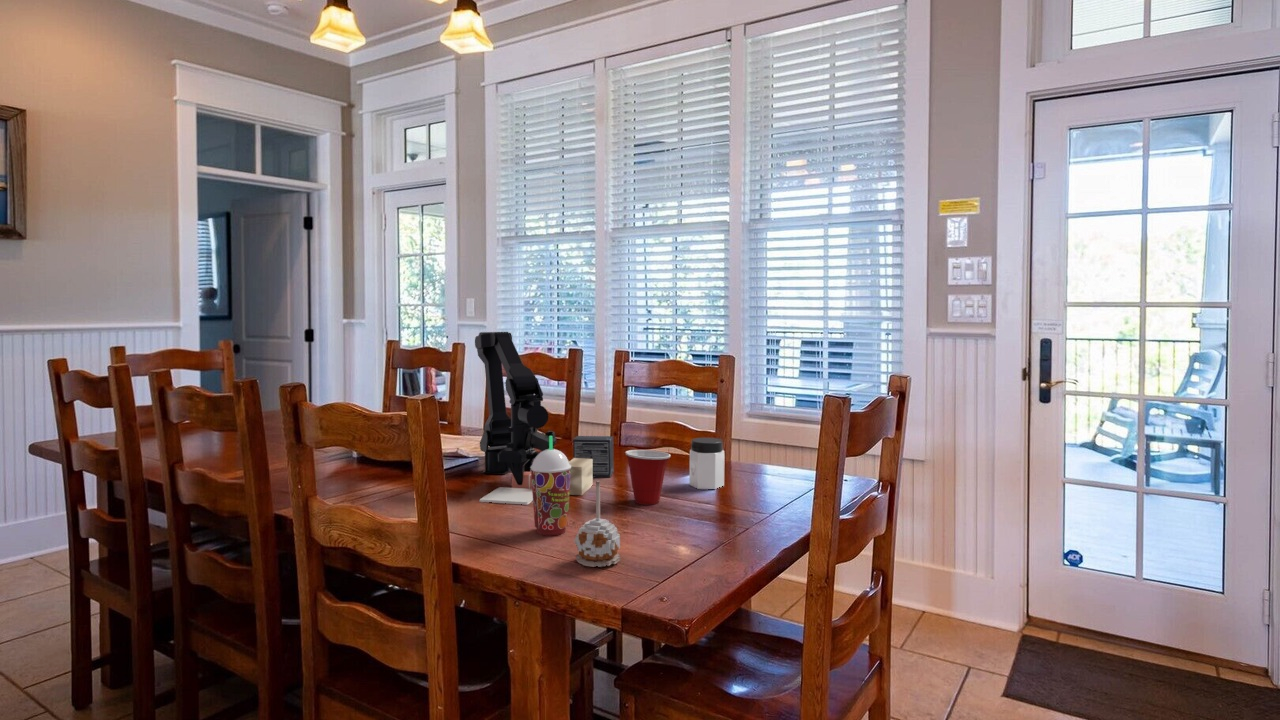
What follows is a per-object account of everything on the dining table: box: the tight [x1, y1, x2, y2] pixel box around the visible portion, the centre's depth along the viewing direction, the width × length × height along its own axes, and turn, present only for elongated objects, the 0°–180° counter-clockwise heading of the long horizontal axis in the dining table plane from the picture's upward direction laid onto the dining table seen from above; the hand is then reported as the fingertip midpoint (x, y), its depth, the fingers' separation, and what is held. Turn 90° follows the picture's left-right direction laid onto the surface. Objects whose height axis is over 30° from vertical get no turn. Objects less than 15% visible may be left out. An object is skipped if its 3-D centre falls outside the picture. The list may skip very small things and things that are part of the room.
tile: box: [479, 486, 533, 506], centre depth 177 cm, size 12×12×1 cm
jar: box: [688, 437, 725, 490], centre depth 188 cm, size 9×8×12 cm
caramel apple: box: [574, 480, 621, 568], centre depth 132 cm, size 8×8×15 cm
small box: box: [572, 435, 614, 478], centre depth 201 cm, size 11×6×10 cm, turn 84°
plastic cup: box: [625, 449, 671, 506], centre depth 173 cm, size 11×11×12 cm
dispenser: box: [568, 458, 594, 496], centre depth 185 cm, size 11×10×7 cm
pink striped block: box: [511, 471, 532, 489], centre depth 186 cm, size 14×4×4 cm, turn 78°
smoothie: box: [530, 436, 571, 537], centre depth 150 cm, size 8×8×20 cm
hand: (522, 482), depth 187 cm, fingers closed on pink striped block, 4 cm apart
